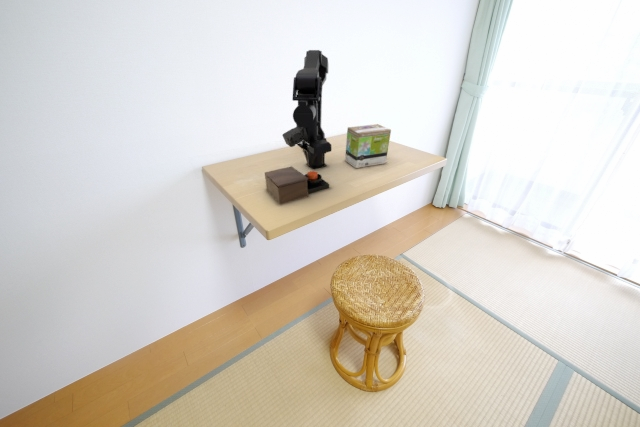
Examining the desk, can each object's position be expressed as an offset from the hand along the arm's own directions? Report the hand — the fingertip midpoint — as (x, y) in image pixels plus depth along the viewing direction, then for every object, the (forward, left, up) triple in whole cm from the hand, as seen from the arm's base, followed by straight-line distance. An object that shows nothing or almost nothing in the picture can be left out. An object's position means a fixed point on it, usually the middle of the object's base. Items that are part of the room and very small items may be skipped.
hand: (309, 165), depth 89 cm
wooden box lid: (+10, +1, -2) cm, 10 cm away
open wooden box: (+10, 0, -8) cm, 12 cm away
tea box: (-31, -8, -8) cm, 33 cm away
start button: (-1, 0, -5) cm, 5 cm away
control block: (-1, 0, -8) cm, 8 cm away
